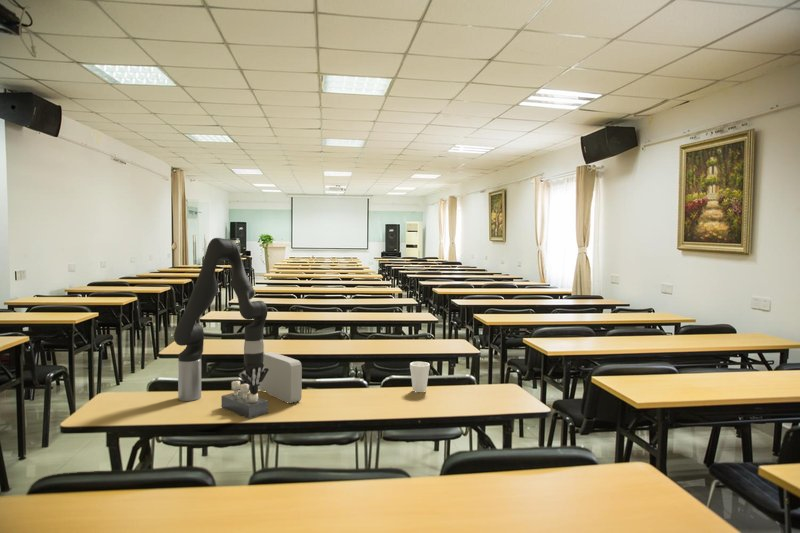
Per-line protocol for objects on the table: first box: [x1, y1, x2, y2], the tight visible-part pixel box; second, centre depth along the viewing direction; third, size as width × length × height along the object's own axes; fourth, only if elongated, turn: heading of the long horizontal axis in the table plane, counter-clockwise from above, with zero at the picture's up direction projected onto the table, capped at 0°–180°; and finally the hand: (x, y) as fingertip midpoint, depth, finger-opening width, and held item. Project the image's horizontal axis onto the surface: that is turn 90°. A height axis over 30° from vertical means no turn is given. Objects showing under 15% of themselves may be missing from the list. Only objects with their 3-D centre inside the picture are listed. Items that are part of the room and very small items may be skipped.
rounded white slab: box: [258, 351, 303, 404], centre depth 210 cm, size 29×8×18 cm, turn 44°
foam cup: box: [409, 361, 431, 393], centre depth 220 cm, size 10×9×13 cm
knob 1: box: [231, 380, 241, 396], centre depth 194 cm, size 3×3×8 cm
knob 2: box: [239, 383, 250, 399], centre depth 190 cm, size 3×3×8 cm
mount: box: [220, 390, 269, 420], centre depth 190 cm, size 20×9×5 cm, turn 51°
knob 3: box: [248, 392, 259, 403], centre depth 186 cm, size 3×3×8 cm
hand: (253, 393), depth 186 cm, fingers closed
